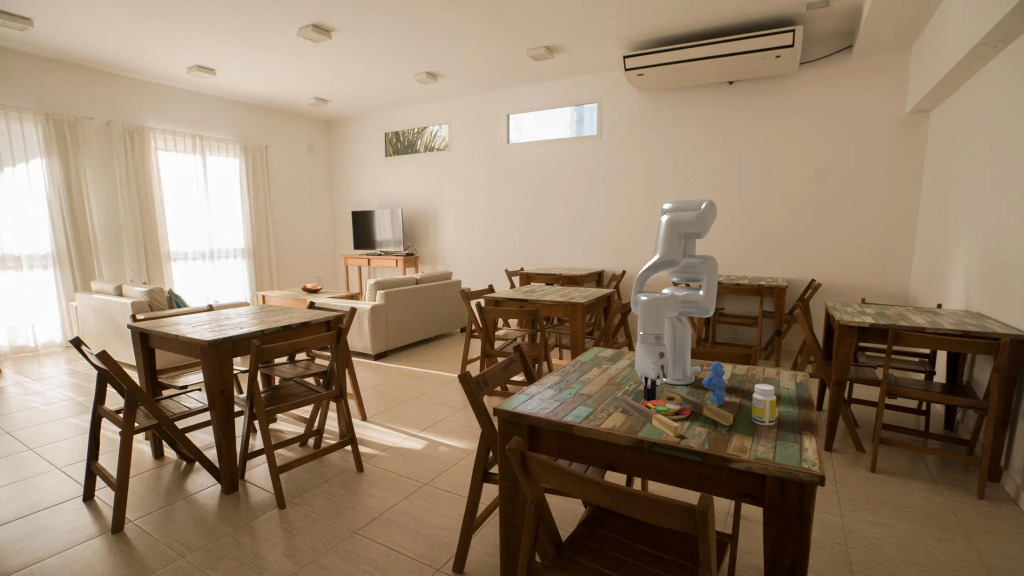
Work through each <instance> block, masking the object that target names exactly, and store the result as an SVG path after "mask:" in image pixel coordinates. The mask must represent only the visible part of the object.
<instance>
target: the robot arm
mask: <svg viewBox="0 0 1024 576" xmlns="http://www.w3.org/2000/svg"><path fill="white" fill-rule="evenodd" d="M717 214H718V208H717V204H716V203H715V201H714V200H712V199H707V198H705V199H701V198H700V199H684V200H682V199H681V200H673V201H668V202H666V203H664V204H662V206H661V209H660V218H659V220H658V225H657V230H656V237H655V241H654V249H653V255H652V258H651V260H649V261H648V262H647V263H646V264H645V265H644V266H643V267H642V268H641V269H640V271H638V273H637V275H636V277H635V278H634V281H633V285H632V291H631V297H630V308H631V309H630V310H631V311H632V313H634V314H635V315H636V316H637V342H636V346H635V347H636V348H635V355H634V369H635V372H636V374H637V376H638V377H640V379H641V384H642V386H643V395H642V397H643V401H648V402H649V401H652V400H657V388H658V386H661V385H664V384H669V385H679V386H680V385H681V386H682V385H690V384H693V383H695V381H696V380H695V379H696V378H695V376H694V375H693V374H694V373H699V372H701V371H702V368H701V366H699V365H697V366H693V365H691V352H692V349H691V347H692V328H691V325H690V323H689V321H688V320H687V319H686V317H694V318H695V317H696V318H710V317H712V316H713V315H714V313H715V310H716V306H717V305H716V303H717V295H718V294H717V292H718V284H719V283H718V281H719V264H718V260H717V259H716V258H715V256H712V255H708V254H697V253H696V252H697V240H702V239H704V238H705V237H707V236H708V234H709V233H710V230H711V228H712V227H713V225H714V224H715V221H716V219H717ZM665 272H666V276H667V278H668V280H669V281H670V282H672V283H673V282H674V283H677V284H694V285H695V284H698V285H701V287H692V286H690V287H689V286H677V285H675V286H674V285H673V286H667V287H665V288H663V289H662V290H661V291H652V290H651V291H650V290H649V291H648V290H645V288H646V287H647V284H648V283H649V281H650V280H651V279H652V278H654V277H655V276H658V275H659V274H661V273H665Z"/></svg>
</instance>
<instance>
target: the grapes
mask: <svg viewBox="0 0 1024 576" xmlns="http://www.w3.org/2000/svg"><path fill="white" fill-rule="evenodd" d="M709 371H711V373H710V374H709V376H706V377H705V378H703V380H702V381H701V383H702V385H703V386H704V387H705V388H706V389H709V391H710V392H711V395H710V398H711V400H712V401H713V403H714V404H715V405H716V406H720V407H721V405H723V404H724V402H725V401H726V399H725V398H726V397H727V393H726V392H725V390H724V388H725V387H726V386H727V382H726V380H724V375H726V372H725V370H724V366H723V364H722V363H721V362H720V361H718V360H715V362H713V364H712V365H711V366H710V368H709Z"/></svg>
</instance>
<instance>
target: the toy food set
mask: <svg viewBox="0 0 1024 576" xmlns="http://www.w3.org/2000/svg"><path fill="white" fill-rule="evenodd" d="M641 405H642V406H644V407H646V408H648V409H650V410H652V411H654V412H656V413H658V414H660V415H662V416H663V417H665V418H667V419H669V420H671V421H673V420H675V421H677V420H681V419H685V418H687V417H688V416H690V414H692V409H691V408H692V405H691V404H682V399H681V398H680V397H679V396H678V395H675V394H664V393H663V394H661V395H659V396H658V398H657V399H656V400H652V401H646V400H643V403H642V404H641Z"/></svg>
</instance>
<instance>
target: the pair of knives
mask: <svg viewBox="0 0 1024 576" xmlns="http://www.w3.org/2000/svg"><path fill="white" fill-rule="evenodd" d="M663 394H675V395H678V396H679V397H680V398H681V399H682V404H691V405H692V408H691V410H693V411H695V412H696V413H700V414H702V415H703V416H706V417H708V418H710V419H713V420H714V421H716V422H718V423H720V424H722V425H724V426H730V425H733V421H734V419H733V417H734V415H733V414H732V413H730V412H727V411H725V410H722V409H720V408H718V407H716V406H714V405H711V404H709V403H706V402H704V401H702V400H699V399H697V398H695V397H694V396H691V395H688V394H685V393H683V392H680V391H678V390H676V389H674V388H672V387H665V388H663ZM616 405H617V406H619V407H620V408H622V409H624V410H626V411H628V412H630V413H631V414H633V415H635V416H636V417H639V418H641V420H643V421H646V423H649V424H650V425H652V426H655V427H656V428H658V429H659V430H662V431H663V432H665V433H666V434H668V435H670V436H672V437H677V436H678V437H679V436H681V424H678V423H677V422H675V421H673V420H669V419H667V418H665V417H663V416H662V415H660V414H658V413H656V412H654V411H652V410H650V409H648V408H646V407H644V406H642V405H643V404H641V403H638V402H636V401H634V400H633V399H631V398H629V397H627V396H625V395H624V394H622V395H621V394H620V395H616Z"/></svg>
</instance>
